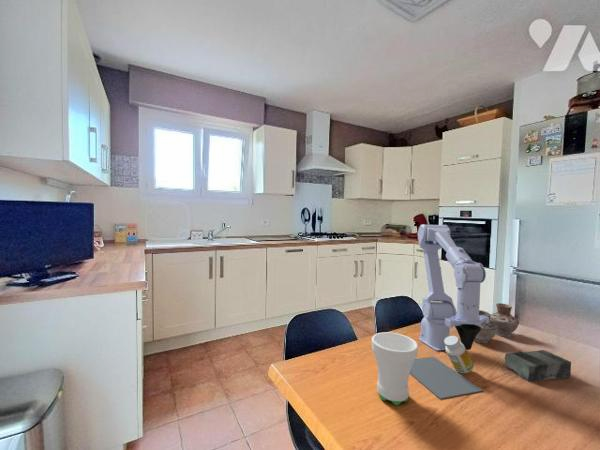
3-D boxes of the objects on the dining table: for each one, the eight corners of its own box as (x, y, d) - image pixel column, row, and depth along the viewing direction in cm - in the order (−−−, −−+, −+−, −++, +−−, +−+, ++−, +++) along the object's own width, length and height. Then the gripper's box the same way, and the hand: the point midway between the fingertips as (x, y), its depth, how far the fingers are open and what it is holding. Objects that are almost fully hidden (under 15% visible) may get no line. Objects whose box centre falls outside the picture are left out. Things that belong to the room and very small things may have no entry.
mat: (396, 362, 86) (396, 361, 86) (433, 357, 90) (433, 356, 90) (439, 399, 69) (439, 398, 69) (483, 391, 73) (483, 390, 73)
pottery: (525, 338, 107) (526, 308, 107) (485, 349, 97) (486, 316, 96) (494, 327, 117) (496, 299, 117) (455, 336, 107) (456, 306, 107)
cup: (411, 418, 62) (413, 356, 62) (363, 400, 68) (365, 343, 68) (419, 392, 72) (421, 338, 71) (377, 378, 78) (378, 328, 77)
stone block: (500, 366, 87) (501, 349, 86) (540, 363, 89) (540, 347, 89) (528, 382, 78) (529, 364, 78) (571, 379, 80) (571, 361, 80)
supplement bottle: (470, 358, 84) (457, 331, 83) (476, 371, 79) (463, 343, 78) (452, 362, 86) (439, 336, 85) (457, 375, 81) (443, 348, 80)
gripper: (459, 309, 76) (457, 357, 76) (499, 306, 80) (497, 351, 80) (440, 301, 83) (438, 346, 83) (477, 298, 87) (476, 341, 87)
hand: (466, 348), depth 82 cm, fingers closed
